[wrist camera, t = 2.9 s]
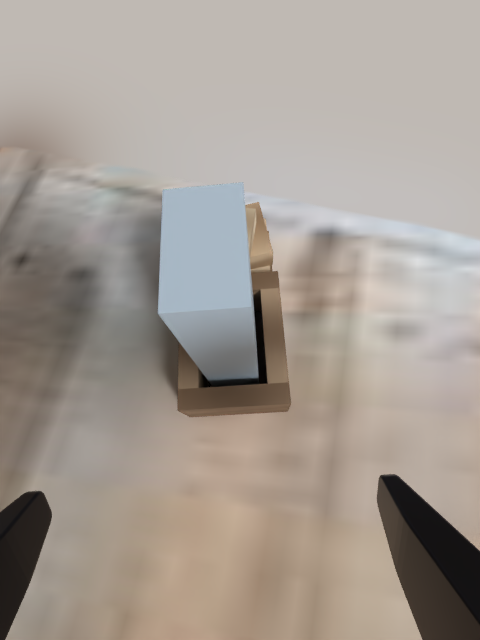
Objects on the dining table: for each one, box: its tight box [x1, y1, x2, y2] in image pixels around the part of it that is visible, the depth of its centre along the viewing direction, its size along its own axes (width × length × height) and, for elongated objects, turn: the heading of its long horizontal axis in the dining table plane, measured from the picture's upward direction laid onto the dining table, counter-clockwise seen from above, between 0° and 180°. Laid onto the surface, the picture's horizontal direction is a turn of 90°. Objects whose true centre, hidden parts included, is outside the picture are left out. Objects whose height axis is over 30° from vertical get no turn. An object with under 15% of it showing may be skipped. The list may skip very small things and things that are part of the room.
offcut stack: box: [245, 202, 273, 273], centre depth 24 cm, size 5×6×5 cm
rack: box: [178, 231, 291, 417], centre depth 24 cm, size 13×6×4 cm, turn 3°
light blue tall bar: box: [158, 182, 259, 387], centre depth 18 cm, size 5×3×14 cm, turn 3°
